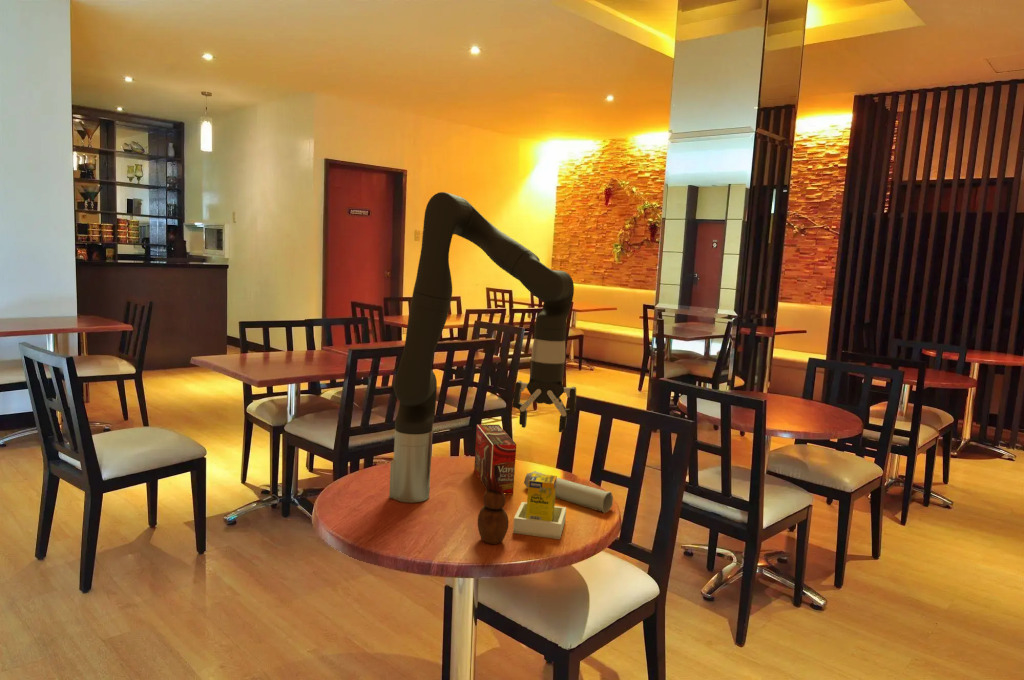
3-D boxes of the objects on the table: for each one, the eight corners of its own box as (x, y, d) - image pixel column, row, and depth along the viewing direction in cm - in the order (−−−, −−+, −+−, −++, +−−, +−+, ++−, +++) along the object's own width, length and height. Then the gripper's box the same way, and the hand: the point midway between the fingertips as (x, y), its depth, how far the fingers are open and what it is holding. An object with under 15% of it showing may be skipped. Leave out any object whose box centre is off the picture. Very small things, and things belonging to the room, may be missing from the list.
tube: (519, 475, 184) (601, 499, 169) (530, 465, 187) (612, 487, 173) (522, 492, 186) (603, 517, 171) (533, 482, 189) (613, 505, 175)
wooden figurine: (472, 537, 151) (476, 471, 150) (494, 532, 155) (498, 467, 153) (489, 549, 146) (493, 480, 144) (511, 544, 149) (515, 476, 147)
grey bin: (512, 533, 155) (513, 518, 155) (521, 515, 166) (522, 501, 165) (560, 539, 153) (561, 524, 153) (565, 521, 164) (566, 507, 163)
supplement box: (551, 530, 156) (554, 483, 155) (524, 527, 157) (528, 480, 156) (554, 520, 162) (557, 475, 160) (528, 517, 163) (531, 472, 161)
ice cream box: (474, 470, 198) (476, 424, 196) (496, 469, 200) (498, 424, 198) (489, 494, 179) (492, 444, 177) (513, 494, 180) (516, 444, 179)
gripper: (513, 358, 154) (508, 429, 156) (577, 364, 151) (571, 437, 153) (520, 353, 161) (514, 421, 163) (581, 360, 158) (575, 429, 160)
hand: (542, 429), depth 158 cm, fingers open, 8 cm apart
